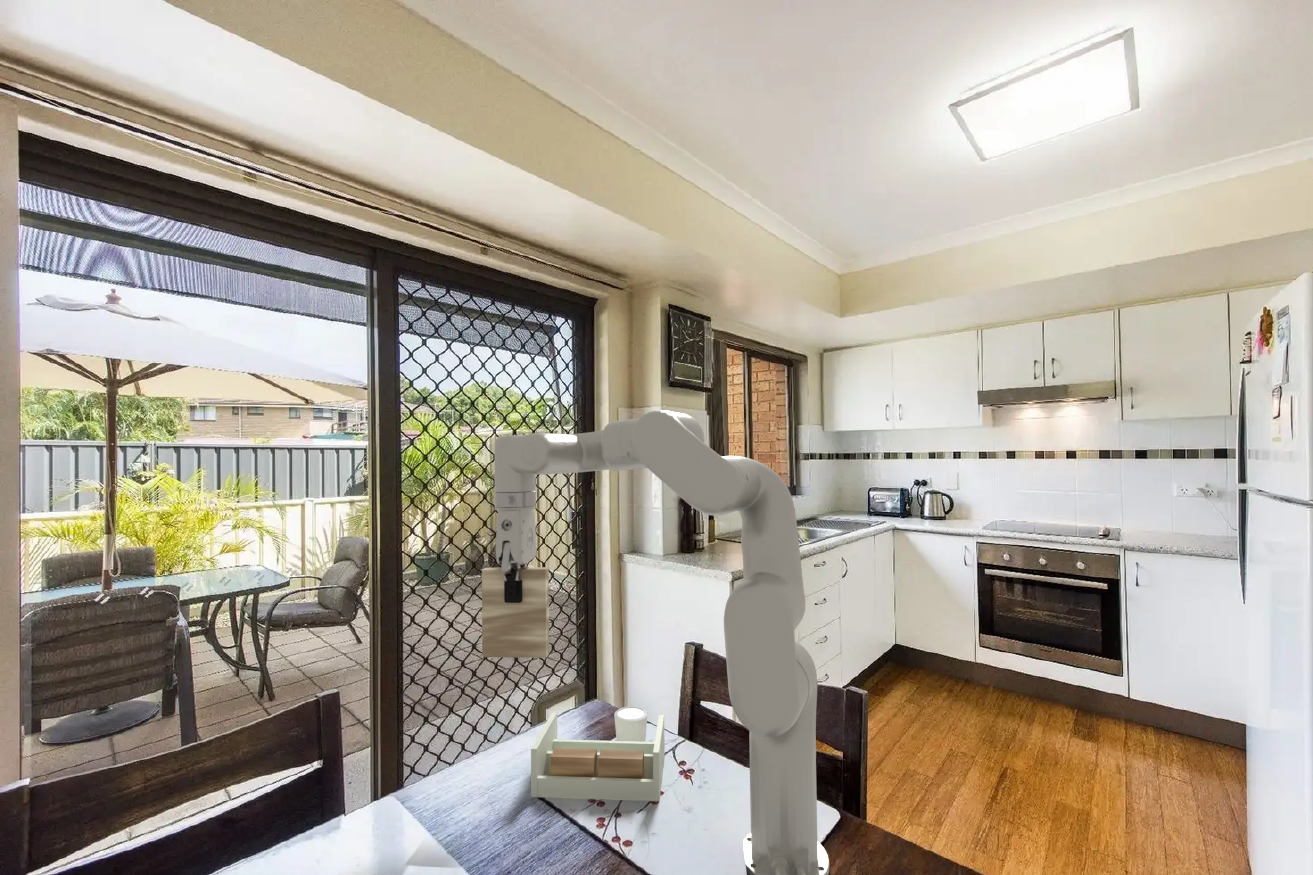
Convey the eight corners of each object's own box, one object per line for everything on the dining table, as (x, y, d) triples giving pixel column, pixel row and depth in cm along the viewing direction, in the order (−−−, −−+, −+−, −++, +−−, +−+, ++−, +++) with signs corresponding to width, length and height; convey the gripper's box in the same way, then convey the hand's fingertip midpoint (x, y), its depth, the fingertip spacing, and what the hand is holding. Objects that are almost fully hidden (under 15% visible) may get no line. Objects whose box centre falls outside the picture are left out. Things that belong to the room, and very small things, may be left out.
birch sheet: (546, 657, 103) (545, 569, 104) (482, 657, 104) (481, 569, 104) (549, 653, 105) (548, 567, 106) (486, 653, 106) (486, 567, 106)
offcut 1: (594, 793, 97) (593, 757, 97) (550, 791, 98) (550, 756, 98) (597, 783, 100) (596, 748, 100) (555, 782, 101) (554, 747, 101)
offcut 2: (642, 795, 96) (642, 759, 97) (598, 793, 97) (598, 758, 97) (644, 785, 99) (643, 750, 100) (601, 783, 100) (601, 749, 100)
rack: (659, 810, 95) (658, 752, 95) (531, 805, 96) (530, 748, 97) (664, 765, 109) (664, 714, 109) (552, 761, 110) (552, 712, 111)
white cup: (609, 753, 113) (609, 718, 113) (621, 737, 119) (621, 704, 120) (641, 758, 111) (641, 722, 111) (652, 742, 117) (651, 707, 118)
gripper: (521, 504, 97) (522, 612, 97) (546, 498, 113) (547, 590, 112) (479, 504, 98) (479, 612, 97) (509, 498, 114) (510, 590, 113)
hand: (515, 599), depth 105 cm, fingers closed on birch sheet, 2 cm apart
